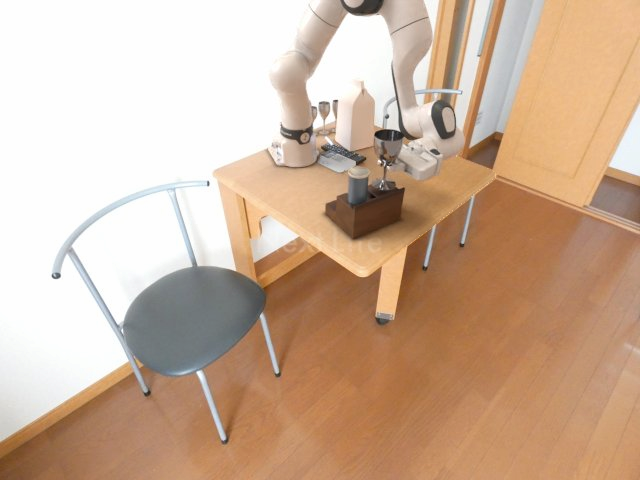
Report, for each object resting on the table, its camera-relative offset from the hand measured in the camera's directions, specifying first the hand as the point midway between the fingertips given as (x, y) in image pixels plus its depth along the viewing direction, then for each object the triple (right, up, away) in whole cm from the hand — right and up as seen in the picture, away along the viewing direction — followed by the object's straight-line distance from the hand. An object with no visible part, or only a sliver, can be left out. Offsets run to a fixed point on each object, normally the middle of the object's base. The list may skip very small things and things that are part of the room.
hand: (383, 166), depth 104 cm
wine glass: (+1, -4, +4) cm, 6 cm away
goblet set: (-11, +29, +63) cm, 70 cm away
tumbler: (-7, -9, +2) cm, 12 cm away
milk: (-4, +20, +53) cm, 57 cm away
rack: (-5, -13, +12) cm, 19 cm away
